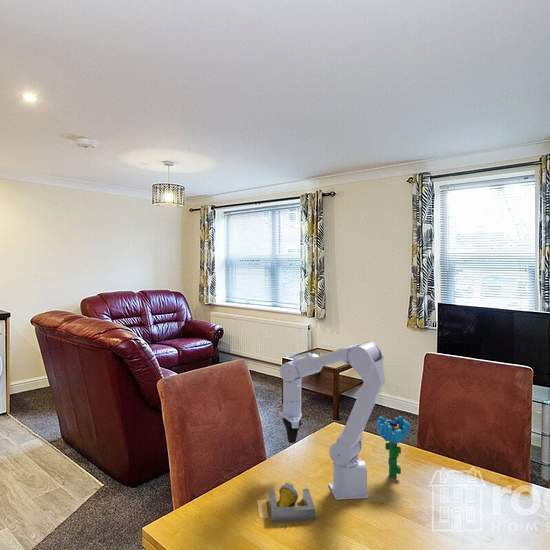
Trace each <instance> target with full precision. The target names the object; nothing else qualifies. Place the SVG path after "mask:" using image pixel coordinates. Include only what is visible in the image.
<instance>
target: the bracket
mask: <svg viewBox="0 0 550 550" xmlns="http://www.w3.org/2000/svg"><path fill="white" fill-rule="evenodd" d="M302 502H303V505H298V506H297V505H296V506H288V507H278V503H277V497H276V491H275V490H273V489H272V490H268V505H269V506H268V507H269V513H270V521H271V523H272V524H274V523H291V522H294V523H295V522H306V521H316V508H315V505H314V501H313V498H312V496H311V492H310V490H309V488H302Z"/></svg>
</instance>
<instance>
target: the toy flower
mask: <svg viewBox="0 0 550 550" xmlns="http://www.w3.org/2000/svg"><path fill="white" fill-rule="evenodd" d="M376 423H377V424H376V426H377V428H376V430H377V433H378V435H379V436H380V437H381V438H382V439H383V440H384V441H385V442H386V443H385V445H384V446H385V450H386V451H388V461H387V462H388V476H389V478H390V479H397V478H398V477H397V476H398V475H401V474H402V473H401V470H402V469H401V466H400V465H398V457H400V454H401V455H402V448H401V446H398V444H400V443H401V442H403V441H404V439H405V438H407V436H408V435H409V434H410V433H411V424H410V423H409V421H407V420H406V419H403V416H401V415H398V417H394V420H392V419H385V418H384V416H379V417H378V420H377V422H376Z"/></svg>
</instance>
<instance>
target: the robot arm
mask: <svg viewBox="0 0 550 550" xmlns="http://www.w3.org/2000/svg"><path fill="white" fill-rule="evenodd" d="M304 355H305V356H302V357H299V358H298V357H295V358H293V359H292V360H290V361H288V362H284V363H283V364H281V366H280V368H279V376H280V378H281V379H282V411H281V412H279V413H278V415H279V417H282V423H283V424H284V426H285V431H286V437H287V441H288V443H289V444H295V443H296V442H297V438H298V433H299V430H300V428H301V426H302V420H301V418H302V416H303V415H302V414H303V413H302V382H303V381H302V380H303V378H304V377H308V376H311V375H313V374H317V373H319V372H321V371H322V369H323V367H325V366H328V365H332V364H336V363H340V362H343V363H344V364H345V365H350V367H351V368H352V369H353V370H354V371H355V372H356V373H357V374H358V376H360V379H362V382H363V383H362V386H361V388H360V390H359V393H358V395H357V396H356V397H357V398H356V400H355V402H354V405H353V407H352V409H351V411H350V413H349V417H348V419H347V421H346V424H345V426H344V429H342V432H341V433H340V434H339V435H338V437H337V439H336V441H335V443H333V444H331V446H330V448H329V449H328V451H329V452H328V454H329V458H330V460H331V461H332V482H329V483H328V486H329V488H330V491H331V493H332V496H333V497H334V500H336V501H339V500H340V501H341V500H343V501H344V500H356V499H358V500H359V499H368V498H369V496H368V495H369V494H368V469H367V465H366V462H365V461H364V459H359V454H360V453H361V451H362V449H363V446H362V445H363V444H362V441H363V438H364V435H363V433H364V430H365V428H366V426H367V423H368V421H369V419H370V417H371V414H372V412H373V410H374V407H375V405H376V403H377V401H378V398H379V395H380V394H381V391H382V389H383V386H384V385H385V381H386V380H385V371H384V363H383V362H384V356H385V355H384V354H383V352H382V351H381V349H380V347H379V346H378V345H377V344H376V343H375V342H372V341H367V342H364V343H363V344H362V343H357V344H351V345H347V346H344V347H342V348H338V349H336V350H332V351H331V352H330V351H329V352H327V353H325V354H322V355H318V354H316V353H311V352H308V353H306V354H304Z"/></svg>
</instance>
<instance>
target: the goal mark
mask: <svg viewBox="0 0 550 550" xmlns="http://www.w3.org/2000/svg"><path fill="white" fill-rule="evenodd" d="M257 510H258V519H268V518H269V514H268V513H269V512H268V506H267V499H257Z"/></svg>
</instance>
